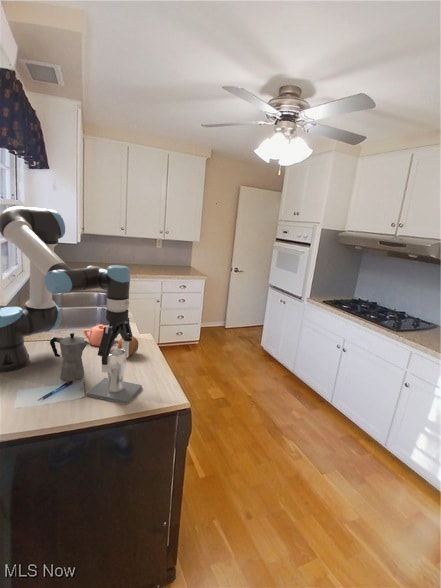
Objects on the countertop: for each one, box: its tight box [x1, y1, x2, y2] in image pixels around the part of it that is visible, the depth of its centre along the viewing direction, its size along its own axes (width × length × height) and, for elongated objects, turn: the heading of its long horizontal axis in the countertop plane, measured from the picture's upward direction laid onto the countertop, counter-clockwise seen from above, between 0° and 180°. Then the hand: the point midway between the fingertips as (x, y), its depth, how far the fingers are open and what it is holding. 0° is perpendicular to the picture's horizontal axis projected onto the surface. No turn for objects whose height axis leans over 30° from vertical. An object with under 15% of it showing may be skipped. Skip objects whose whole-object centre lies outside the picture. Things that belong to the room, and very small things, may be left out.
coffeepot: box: [49, 332, 90, 381], centre depth 122 cm, size 15×9×18 cm, turn 89°
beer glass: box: [106, 347, 127, 393], centre depth 114 cm, size 7×7×15 cm
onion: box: [117, 335, 139, 357], centre depth 146 cm, size 10×10×10 cm
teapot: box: [83, 324, 112, 347], centre depth 158 cm, size 12×18×10 cm
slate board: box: [86, 377, 143, 405], centre depth 115 cm, size 16×12×1 cm
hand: (115, 364), depth 113 cm, fingers open, 13 cm apart
